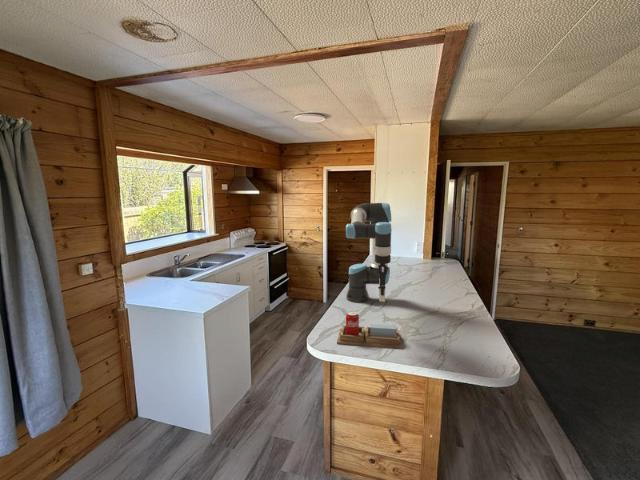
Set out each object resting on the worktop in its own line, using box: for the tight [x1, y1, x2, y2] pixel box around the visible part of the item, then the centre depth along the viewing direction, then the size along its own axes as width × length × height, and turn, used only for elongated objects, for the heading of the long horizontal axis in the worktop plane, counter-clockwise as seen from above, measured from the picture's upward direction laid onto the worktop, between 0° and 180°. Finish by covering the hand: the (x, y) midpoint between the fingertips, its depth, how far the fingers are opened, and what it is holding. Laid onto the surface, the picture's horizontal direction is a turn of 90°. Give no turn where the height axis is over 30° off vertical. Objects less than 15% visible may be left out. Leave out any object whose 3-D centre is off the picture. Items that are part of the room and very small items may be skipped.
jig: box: [336, 324, 402, 349], centre depth 155 cm, size 14×30×4 cm, turn 80°
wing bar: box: [369, 323, 397, 338], centre depth 154 cm, size 4×12×6 cm, turn 80°
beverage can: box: [345, 310, 360, 336], centre depth 156 cm, size 6×6×12 cm
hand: (381, 295), depth 156 cm, fingers open, 13 cm apart
